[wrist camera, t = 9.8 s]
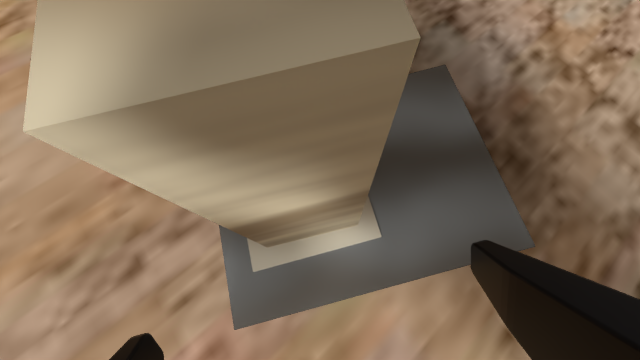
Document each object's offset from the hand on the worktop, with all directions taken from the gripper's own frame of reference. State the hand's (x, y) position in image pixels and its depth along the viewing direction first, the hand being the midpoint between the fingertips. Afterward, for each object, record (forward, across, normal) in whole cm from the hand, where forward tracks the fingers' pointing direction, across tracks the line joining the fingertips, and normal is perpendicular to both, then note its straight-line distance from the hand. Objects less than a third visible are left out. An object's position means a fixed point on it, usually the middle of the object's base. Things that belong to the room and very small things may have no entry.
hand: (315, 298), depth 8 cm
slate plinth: (+11, -3, +3) cm, 11 cm away
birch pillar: (+9, 0, +1) cm, 9 cm away
